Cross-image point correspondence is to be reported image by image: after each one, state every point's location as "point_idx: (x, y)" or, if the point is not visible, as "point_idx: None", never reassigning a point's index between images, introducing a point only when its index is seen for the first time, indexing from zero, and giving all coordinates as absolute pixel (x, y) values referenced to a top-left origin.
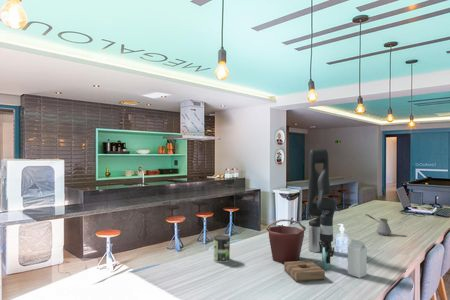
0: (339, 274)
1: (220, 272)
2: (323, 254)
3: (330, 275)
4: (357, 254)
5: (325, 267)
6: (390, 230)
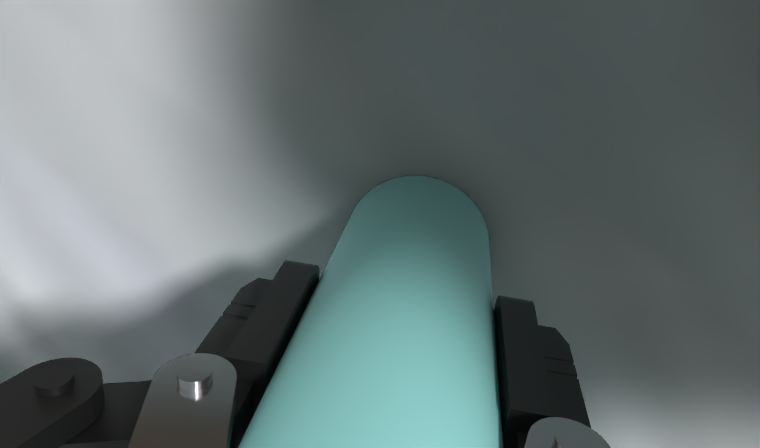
0: (90, 260)
1: None
2: (356, 368)
3: (51, 73)
4: None
5: (360, 205)
6: None
